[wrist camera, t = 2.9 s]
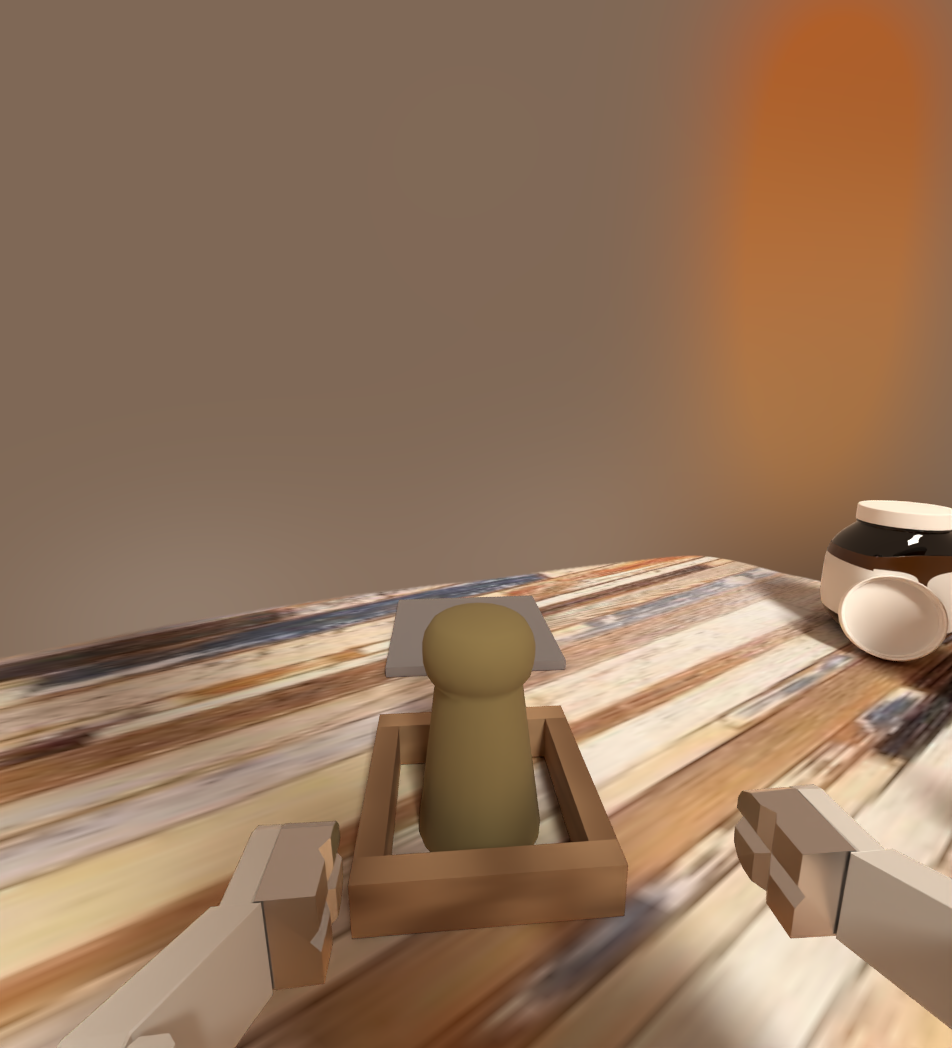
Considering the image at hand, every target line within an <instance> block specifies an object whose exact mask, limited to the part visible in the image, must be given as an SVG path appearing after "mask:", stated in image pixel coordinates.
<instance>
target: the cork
mask: <svg viewBox="0 0 952 1048" xmlns="http://www.w3.org/2000/svg"><path fill="white" fill-rule="evenodd" d="M535 648H536V644H535V639H534V635H533V632H532V630H531V628H530V626H529V624H528V623H527V621H526V620H525V618H524V617H523V616H522V615H520V614H519V613H518V612H516V611H514V610H512V609H510V608H507V607H505V606H502V605H497V604H492V603H466V604H461V605H456V606H453V607H450V608H447V609H445V610H444V611H442V612H440V613H439V614H437V615H435V616H434V618H433V619H432V620H431V622H430V623H429V625H428V627H427V628H426V630H425V632H424V637H423V641H422V655H423V664H424V668H425V671H426V674H427V676H428V677H429V679H430V680H431V681H432V683H433V684H434V685H435V687H434V695H433V704H432V713H431V721H430V730H429V738H428V747H427V755H426V764H425V773H424V781H423V790H422V798H421V807H420V815H419V832H420V834H421V837H422V839H423V842H424V844H425V847H426V848H427V849H428V850H429V851H430V852H443V851H457V850H471V849H485V848H499V847H513V846H527V845H534V843H535V841H536V839H537V837H538V834H539V824H540V817H539V809H538V801H537V793H536V785H535V777H534V769H533V761H532V753H531V745H530V737H529V729H528V721H527V713H526V705H525V697H524V689H523V684H524V683H525V682H526V680H527V679H528V678H529V677H530V675H531V671H532V668H533V665H534V660H535Z"/></svg>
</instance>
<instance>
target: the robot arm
mask: <svg viewBox="0 0 952 1048" xmlns="http://www.w3.org/2000/svg"><path fill="white" fill-rule="evenodd" d="M737 808H738V809H739V811H740V812H741V814H742V815H743V817H742V818H741V819H740V821H739V822H738V823H737V824H736V826H735V833H734V843H735V847H736V852H737V856H738V858H739V860H740V863H741V865H742V867H743V869H744V871H745V872H746V874H747V875H748V877H749V878H750V880H751V881H752V882H754V883H755V884H757V885H758V886H760V887H761V888H763V889H764V890H766V903H767V905H768V906H769V908H770V909H771V911H772V912H773V914H774V915H775V916H776V918H777V919H778V921H779V922H780V924H781V925H782V927H783V928H784V930H785V931H786V933H787V934H788V935H789V937H790V938H805V937H821V936H836V939H837V940H839V941H840V942H841V943H843V944H844V945H845V946H846V947H848V948H849V949H850V950H851V951H853V952H854V953H855V954H857V955H858V956H859V957H860V958H862V959H863V960H864V961H865V962H867V963H868V964H869V965H870V966H872V967H873V968H874V969H876V970H877V971H878V972H879V973H881V974H882V975H883V976H884V977H886V978H887V979H888V980H890V981H891V982H892V983H893V984H895V985H896V986H897V987H898V988H900V989H901V990H902V991H904V992H905V993H906V994H907V995H909V996H910V997H911V998H912V999H914V1000H915V1001H916V1002H917V1003H919V1004H920V1005H921V1006H923V1007H924V1008H925V1009H926V1010H928V1011H929V1012H930V1013H931V1014H933V1015H934V1016H935V1017H937V1018H938V1019H939V1020H940V1021H942V1022H943V1023H944V1024H945V1025H947V1026H948V1027H949V1028H951V1029H952V879H951V878H949V877H947V876H945V875H943V874H941V873H939V872H938V871H936V870H934V869H932V868H930V867H928V866H926V865H924V864H922V863H920V862H918V861H916V860H914V859H912V858H910V857H908V856H906V855H904V854H902V853H900V852H898V851H896V850H894V849H884V848H883V847H882V846H881V845H880V844H879V843H878V842H877V841H876V840H875V839H874V838H873V837H872V836H870V835H869V834H868V833H867V832H866V831H865V830H864V829H863V828H862V827H861V826H860V825H859V824H858V823H857V822H856V821H855V820H854V819H853V818H852V817H851V816H850V815H849V814H848V813H847V812H845V811H844V810H843V809H842V808H841V807H840V806H839V805H838V804H837V803H836V802H835V801H834V800H833V799H832V798H831V797H830V796H829V795H828V794H827V793H826V792H825V791H824V790H823V789H821V788H820V787H818V786H816V785H814V784H811V785H800V786H790V787H781V788H769V789H757V790H745V791H742V792H741V794H740V795H739V797H738V804H737ZM339 841H340V832H339V824H338V823H337V822H336V821H330V822H309V823H288V824H284V825H258V827H257V828H256V829H255V830H254V831H253V832H252V834H251V836H250V838H249V841H248V843H247V845H246V847H245V849H244V852H243V854H242V856H241V858H240V861H239V863H238V865H237V867H236V869H235V872H234V874H233V876H232V878H231V881H230V883H229V885H228V887H227V889H226V892H225V894H224V896H223V898H222V901H221V903H220V905H219V906H215V907H210V908H209V909H208V910H207V911H205V912H204V913H203V914H202V915H201V916H200V917H199V918H198V919H196V920H195V921H194V922H193V923H192V924H191V925H190V926H189V927H187V928H186V929H185V930H184V931H183V932H182V933H181V934H180V935H179V936H177V937H176V938H175V939H174V940H173V941H172V942H171V943H170V944H168V945H167V946H166V947H165V948H164V949H163V950H162V951H161V952H160V953H158V954H157V955H156V956H155V957H154V958H153V959H152V960H151V961H149V962H148V963H147V964H146V965H145V966H144V967H143V968H142V969H141V970H139V971H138V972H137V973H136V974H135V975H134V976H133V977H132V978H130V979H129V980H128V981H127V982H126V983H125V984H124V985H123V986H122V987H120V988H119V989H118V990H117V991H116V992H115V993H114V994H113V995H111V996H110V997H109V998H108V999H107V1000H106V1001H105V1002H104V1003H103V1004H101V1005H100V1006H99V1007H98V1008H97V1009H96V1010H95V1011H94V1012H92V1013H91V1014H90V1015H89V1016H88V1017H87V1018H86V1019H85V1020H84V1021H82V1022H81V1023H80V1024H79V1025H78V1026H77V1027H76V1028H75V1029H73V1030H72V1031H71V1032H70V1033H69V1034H68V1035H67V1036H66V1037H65V1038H63V1039H62V1040H61V1041H60V1043H59V1045H58V1046H57V1048H235V1047H236V1045H237V1044H238V1042H239V1041H240V1040H241V1038H242V1037H243V1035H244V1034H245V1033H246V1031H247V1030H248V1028H249V1027H250V1026H251V1024H252V1023H253V1022H254V1020H255V1019H256V1017H257V1016H258V1015H259V1013H260V1012H261V1010H262V1009H263V1008H264V1006H265V1005H266V1004H267V1002H268V1001H269V999H270V998H271V997H272V995H273V990H281V989H289V988H296V987H304V986H311V985H319V984H325V979H326V974H327V969H328V964H329V960H330V955H331V950H332V945H333V938H332V926H331V925H332V924H333V922H334V921H335V920H336V919H337V918H338V915H339V909H340V904H341V896H342V886H343V864H342V857H341V856H340V855H339V854H338V853H337V850H338V846H339Z"/></svg>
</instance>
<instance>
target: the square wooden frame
mask: <svg viewBox="0 0 952 1048" xmlns="http://www.w3.org/2000/svg"><path fill="white" fill-rule="evenodd" d="M431 713H432V712H421V713H401V714H380V717H379V722H378V728H377V733H376V738H375V744H374V749H373V754H372V760H371V765H370V770H369V776H368V781H367V786H366V792H365V797H364V803H363V808H362V813H361V819H360V824H359V829H358V835H357V840H356V845H355V851H354V856H353V861H352V867H351V872H350V877H349V883H348V894H349V907H350V920H351V933H352V938H364V937H376V936H388V935H401V934H413V933H425V932H437V931H449V930H461V929H473V928H485V927H497V926H509V925H521V924H533V923H545V922H557V921H569V920H581V919H593V918H605V917H617V916H624V912H625V899H626V886H627V873H628V863H627V861H626V859H625V856H624V854H623V852H622V849H621V847H620V844H619V842H618V840H617V837H616V835H615V833H614V830H613V828H612V826H611V823H610V821H609V819H608V816H607V814H606V811H605V809H604V807H603V804H602V802H601V800H600V797H599V795H598V793H597V790H596V788H595V785H594V783H593V781H592V778H591V776H590V774H589V771H588V769H587V767H586V764H585V762H584V760H583V757H582V755H581V752H580V750H579V748H578V745H577V743H576V741H575V738H574V736H573V734H572V731H571V729H570V726H569V724H568V722H567V719H566V717H565V715H564V712H563V710H562V708H561V706H542V707H526V713H527V721H528V729H529V737H530V745H531V753H532V757H538V756H544V757H545V760H546V764H547V767H548V770H549V773H550V776H551V780H552V783H553V786H554V789H555V792H556V795H557V799H558V802H559V805H560V808H561V811H562V815H563V818H564V821H565V824H566V827H567V831H568V834H569V837H570V840H571V842H569V843H555V844H541V845H527V846H513V847H499V848H485V849H471V850H457V851H443V852H429V853H414V854H400V855H392V845H393V835H394V825H395V816H396V806H397V796H398V786H399V776H400V766H401V764H416V763H426V755H427V747H428V738H429V730H430V721H431Z"/></svg>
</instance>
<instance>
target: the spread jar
mask: <svg viewBox="0 0 952 1048" xmlns="http://www.w3.org/2000/svg"><path fill="white" fill-rule="evenodd" d="M856 518H857V521H856V522H854V523H853V524H851V525H849V526H848V527H846V528H844V529H843V530H842V531H841V532H839V533H838V534H837V535H836V536H835V537H834V538H833V539H832V540H831V542H830V544H829V546H828V548H827V551H826V554H825V560H824V565H823V571H822V578H821V585H820V596H821V602H822V604H823V606H824V608H825V609H826V611H827V612H828V613H829V615H830V616H831V617H832V618H833V619H834V620H835V621H836V622H837V623H838V624H839V625H840V626H841V628H842V630H843V632H844V633H845V635H846V636H847V637H848V639H849V640H850V641H851V642H852V643H853V644H855V645H856V646H857V647H858V648H860V649H861V650H863V651H865V652H867V653H869V654H871V655H873V656H876V657H879V658H882V659H886V660H892V661H909V660H915V659H919V658H922V657H925V656H926V655H928V654H930V653H932V652H933V651H935V650H936V649H937V648H938V647H939V646H940V645H941V643H942V642H943V641H944V639H946V638H947V637H949V636H951V635H952V508H948V507H943V506H937V505H931V504H924V503H915V502H904V501H887V500H869V501H861V502H859V503H858V507H857V514H856Z"/></svg>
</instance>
